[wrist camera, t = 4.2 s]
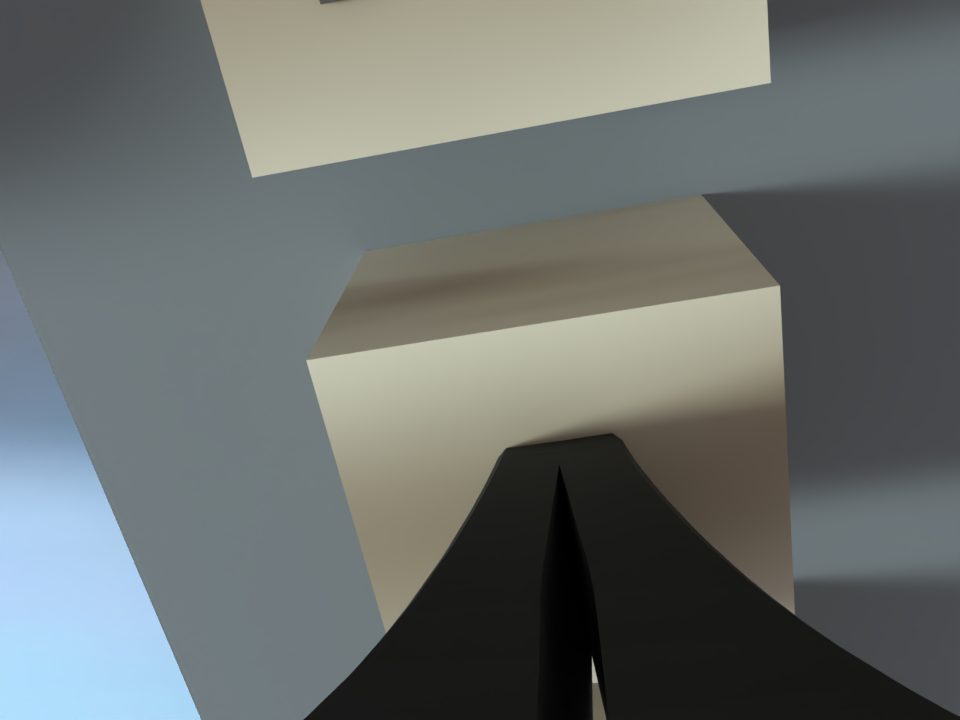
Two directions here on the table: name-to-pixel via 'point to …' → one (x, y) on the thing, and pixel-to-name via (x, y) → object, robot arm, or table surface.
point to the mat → (459, 211)
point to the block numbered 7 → (463, 67)
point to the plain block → (560, 379)
